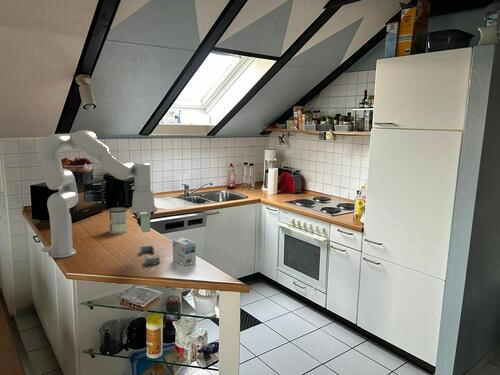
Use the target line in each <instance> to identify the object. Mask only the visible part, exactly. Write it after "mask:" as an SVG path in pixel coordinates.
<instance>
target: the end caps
mask: <svg viewBox="0 0 500 375" xmlns="http://www.w3.org/2000/svg"><path fill="white" fill-rule="evenodd" d="M143 252H144V253H153V254H155V248H154V245H144V246H143V245H142V246H139V254H140V255H143ZM143 257H144V264H152V265H155V264H154V263H160V256H159V254H158V255H157V254H156V256H155V257H147V256H146V255H145V256H143Z"/></svg>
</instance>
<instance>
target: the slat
mask: <svg viewBox="0 0 500 375" xmlns="http://www.w3.org/2000/svg"><path fill="white" fill-rule="evenodd" d="M140 220H141V226H139V224H137V225H138V227H139V228H140V230H141V232H142V233H151V223H150V221H151V217H149V216H148V213H147V212H140Z"/></svg>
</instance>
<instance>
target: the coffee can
mask: <svg viewBox="0 0 500 375" xmlns="http://www.w3.org/2000/svg"><path fill="white" fill-rule="evenodd" d="M108 210H109V232H110V234H115V235H117V234H124V233H127V232H128V208H127V207H122V206H120V207H119V206H118V207H111V208H109V209H108Z"/></svg>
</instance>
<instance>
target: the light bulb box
mask: <svg viewBox="0 0 500 375" xmlns="http://www.w3.org/2000/svg"><path fill="white" fill-rule="evenodd" d="M173 260H175V261H177V262H176V263H178V262H179V263H178V264H180V263H182V264H184V265H187V266H189V265H188V264H190V265H192V264H191V263H194V264H196V263H197V243H196V241H193V240H190V239H187V238H185V237H180V238H175V239H172V261H173ZM175 261H174V262H175ZM195 262H196V263H195ZM182 264H181V265H182ZM184 265H183V266H184Z"/></svg>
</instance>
